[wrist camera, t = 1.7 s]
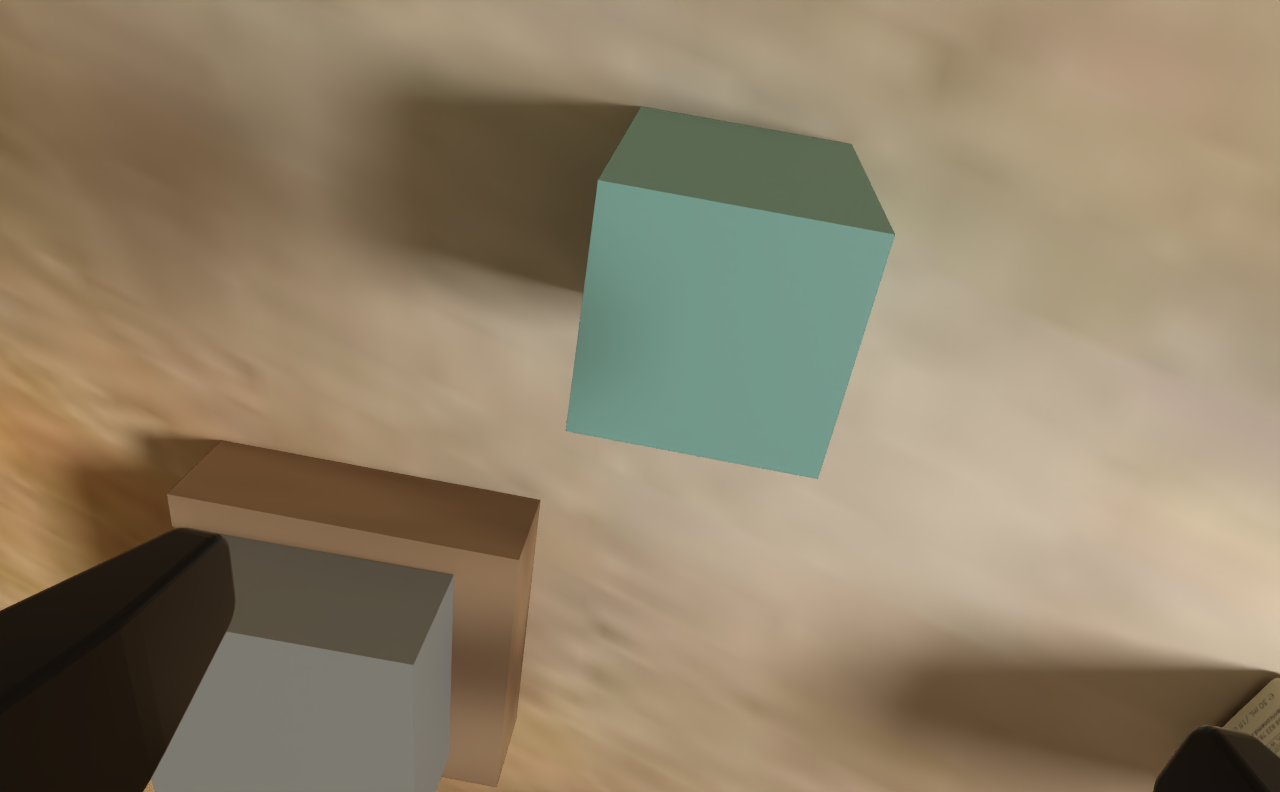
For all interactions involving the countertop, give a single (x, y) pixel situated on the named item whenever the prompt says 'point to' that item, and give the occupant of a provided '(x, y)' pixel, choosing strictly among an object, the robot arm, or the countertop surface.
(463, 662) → the bottom block
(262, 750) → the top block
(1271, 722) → the skincare box
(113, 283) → the countertop surface
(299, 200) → the countertop surface
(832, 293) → the pillar block
